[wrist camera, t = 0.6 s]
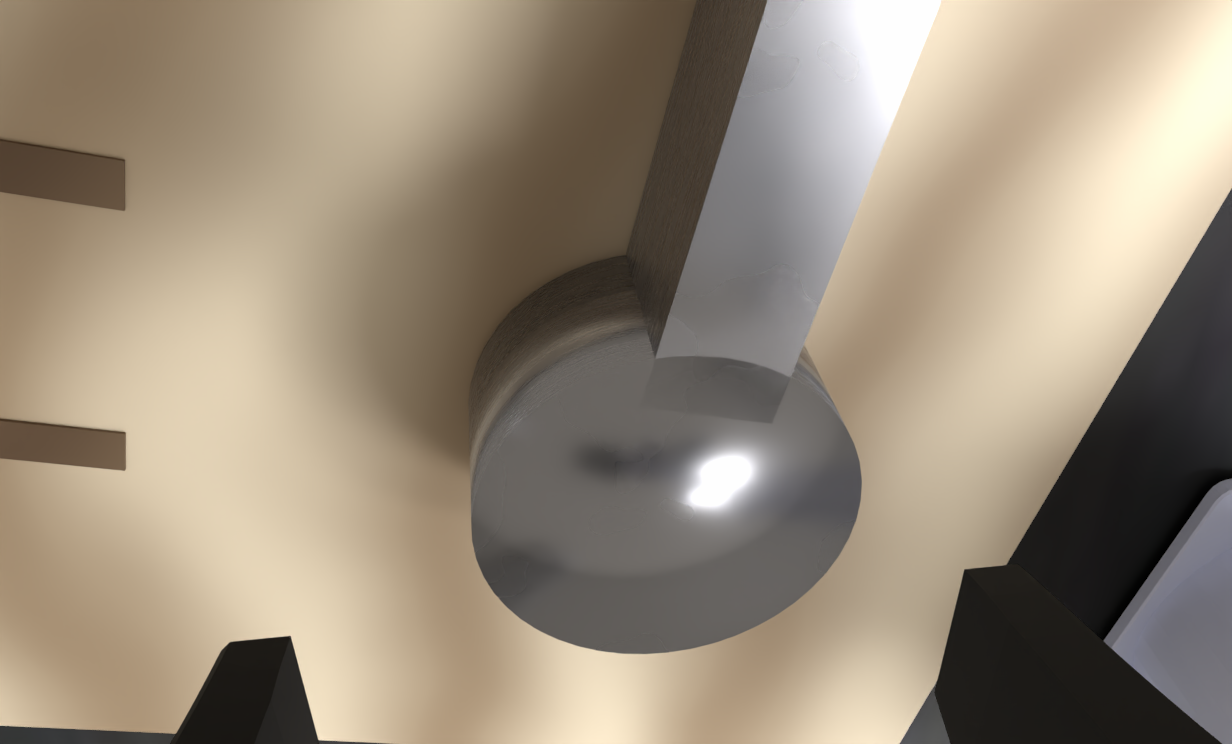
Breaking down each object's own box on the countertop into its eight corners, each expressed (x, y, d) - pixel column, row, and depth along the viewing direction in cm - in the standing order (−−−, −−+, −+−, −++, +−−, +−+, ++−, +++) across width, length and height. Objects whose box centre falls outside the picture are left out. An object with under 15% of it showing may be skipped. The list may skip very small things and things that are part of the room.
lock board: (1398, -233, 16) (1480, -223, 15) (866, 715, 28) (886, 768, 26) (-318, -810, 11) (-422, -870, 9) (-86, 660, 22) (-119, 722, 21)
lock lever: (748, 545, 21) (787, 665, 19) (443, 515, 20) (442, 641, 17) (1120, -348, 13) (1274, -345, 11) (654, -507, 12) (709, -545, 9)
